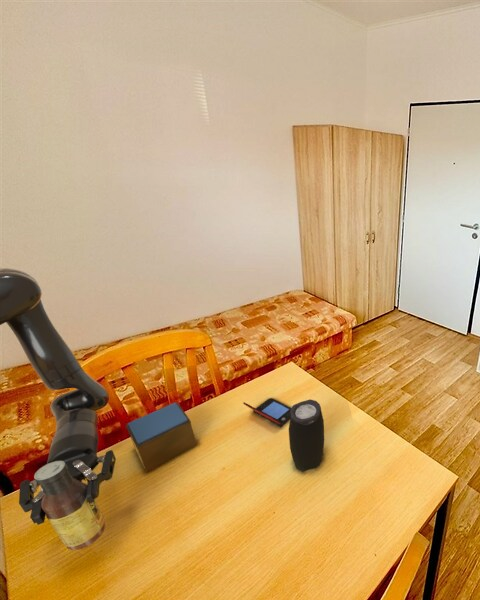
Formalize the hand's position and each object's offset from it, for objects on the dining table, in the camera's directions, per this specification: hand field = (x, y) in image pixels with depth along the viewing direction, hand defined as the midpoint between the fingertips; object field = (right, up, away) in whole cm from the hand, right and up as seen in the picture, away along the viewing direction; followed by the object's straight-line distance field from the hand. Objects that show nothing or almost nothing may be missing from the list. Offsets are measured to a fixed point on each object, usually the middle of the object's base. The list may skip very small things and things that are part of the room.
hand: (65, 510), depth 59 cm
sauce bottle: (-3, -10, +7) cm, 12 cm away
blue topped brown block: (-5, -3, +32) cm, 32 cm away
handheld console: (+20, +1, +46) cm, 50 cm away
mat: (-4, +6, +28) cm, 28 cm away
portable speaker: (+36, -7, +32) cm, 49 cm away
